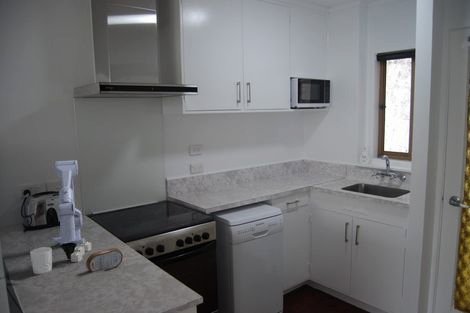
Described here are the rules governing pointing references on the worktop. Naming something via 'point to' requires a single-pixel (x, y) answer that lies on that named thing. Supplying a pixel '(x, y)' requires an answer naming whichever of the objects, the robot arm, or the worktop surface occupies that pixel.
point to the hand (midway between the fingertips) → (70, 258)
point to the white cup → (41, 260)
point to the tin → (104, 259)
